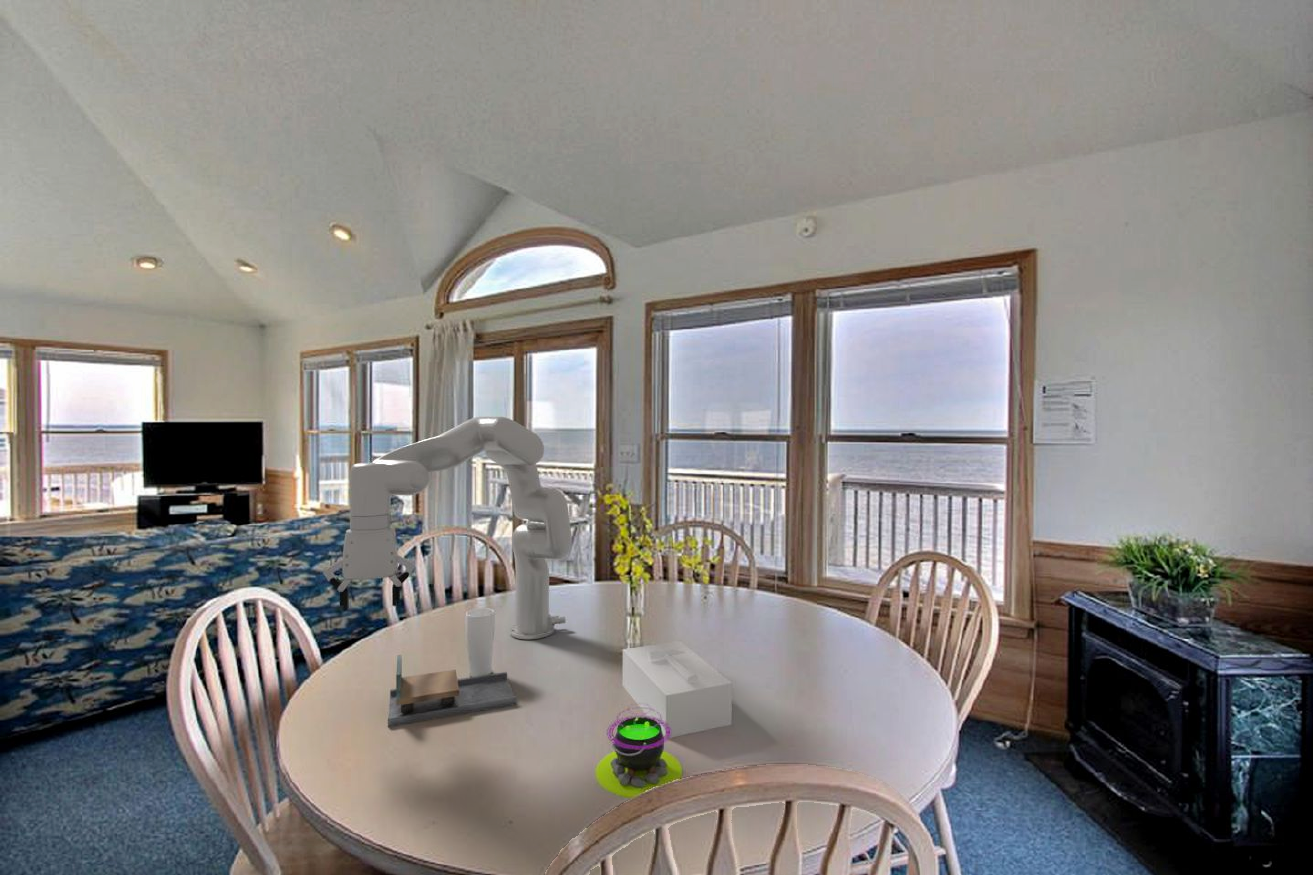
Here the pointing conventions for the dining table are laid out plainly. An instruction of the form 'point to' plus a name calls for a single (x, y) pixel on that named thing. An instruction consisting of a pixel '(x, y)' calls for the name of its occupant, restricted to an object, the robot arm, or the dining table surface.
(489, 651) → the drinking glass
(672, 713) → the white hammer mold block
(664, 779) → the toy cauldron
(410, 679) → the cart
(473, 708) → the rail
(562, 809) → the dining table surface
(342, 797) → the dining table surface
